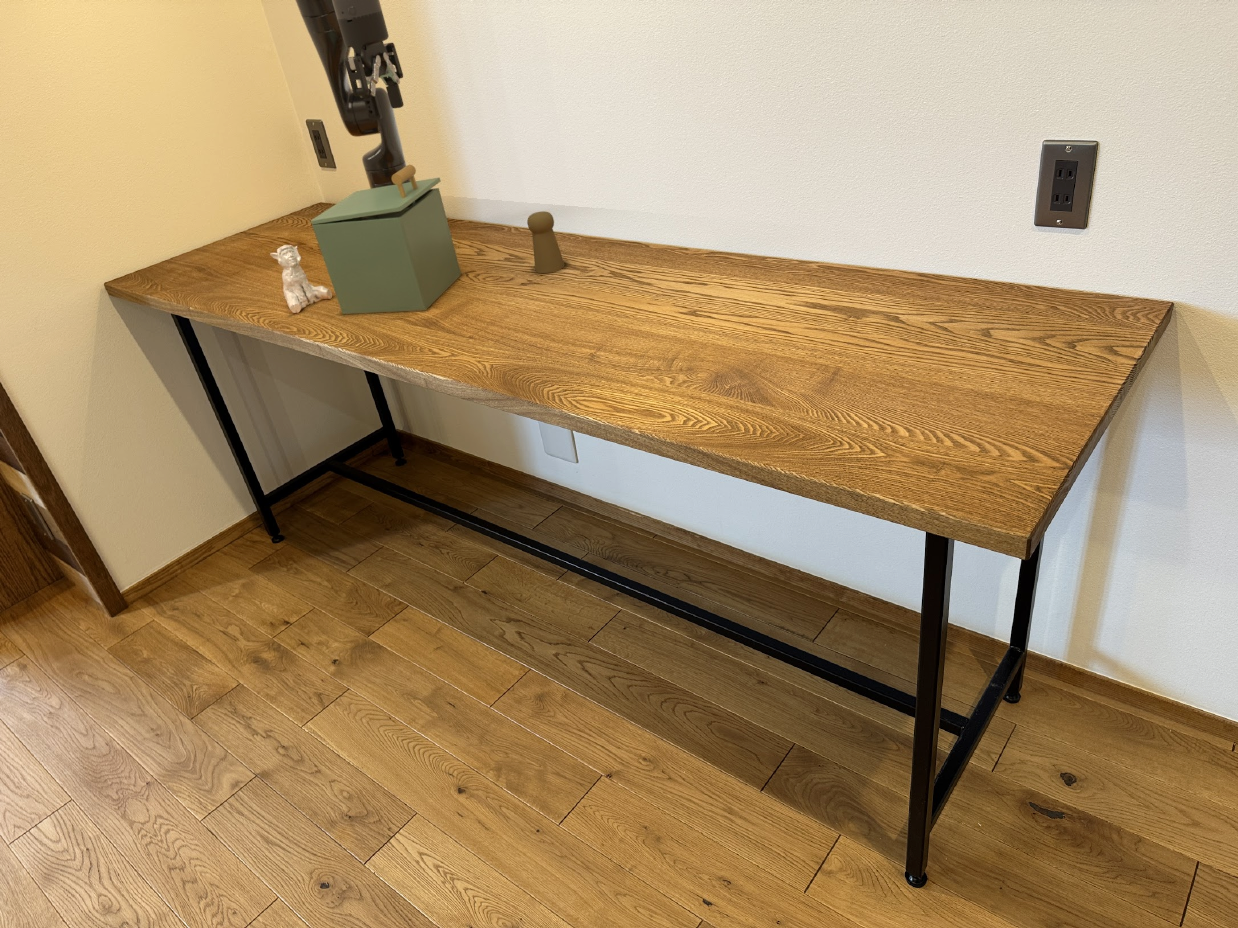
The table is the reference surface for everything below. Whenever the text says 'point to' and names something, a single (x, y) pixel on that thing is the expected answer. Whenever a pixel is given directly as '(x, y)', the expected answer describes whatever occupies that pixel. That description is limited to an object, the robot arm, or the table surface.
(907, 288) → the table surface
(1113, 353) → the table surface
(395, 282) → the chest
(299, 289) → the sitting furry creature
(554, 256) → the brown game pawn
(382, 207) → the lid
